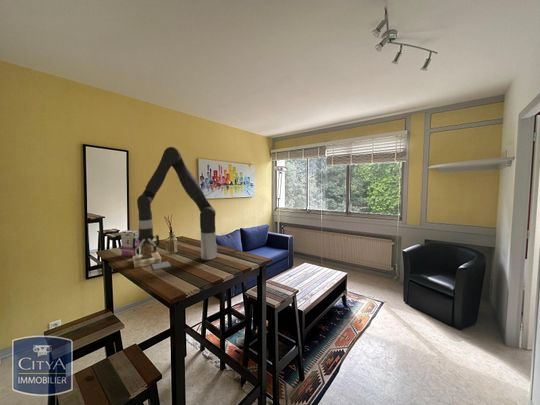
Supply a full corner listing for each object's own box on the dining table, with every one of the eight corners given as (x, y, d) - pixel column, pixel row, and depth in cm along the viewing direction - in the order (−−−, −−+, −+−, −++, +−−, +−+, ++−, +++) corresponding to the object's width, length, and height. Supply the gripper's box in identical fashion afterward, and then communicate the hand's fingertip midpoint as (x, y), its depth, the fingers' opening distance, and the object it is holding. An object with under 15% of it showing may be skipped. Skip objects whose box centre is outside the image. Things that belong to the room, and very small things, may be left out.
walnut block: (150, 260, 140) (150, 243, 139) (151, 262, 136) (151, 244, 135) (142, 261, 137) (141, 244, 136) (143, 263, 134) (142, 245, 133)
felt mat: (168, 262, 137) (168, 261, 137) (171, 266, 129) (171, 265, 129) (151, 265, 131) (151, 264, 131) (153, 270, 124) (153, 269, 124)
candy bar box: (141, 255, 149) (140, 231, 147) (135, 257, 144) (134, 232, 142) (127, 253, 151) (126, 229, 150) (121, 255, 147) (120, 231, 145)
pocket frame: (157, 256, 146) (157, 252, 146) (161, 263, 135) (161, 258, 135) (132, 260, 138) (132, 255, 138) (134, 267, 127) (134, 262, 127)
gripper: (157, 225, 142) (158, 249, 143) (131, 227, 134) (132, 253, 135) (159, 227, 136) (160, 253, 137) (132, 229, 128) (133, 257, 129)
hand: (146, 253), depth 136 cm, fingers open, 8 cm apart
